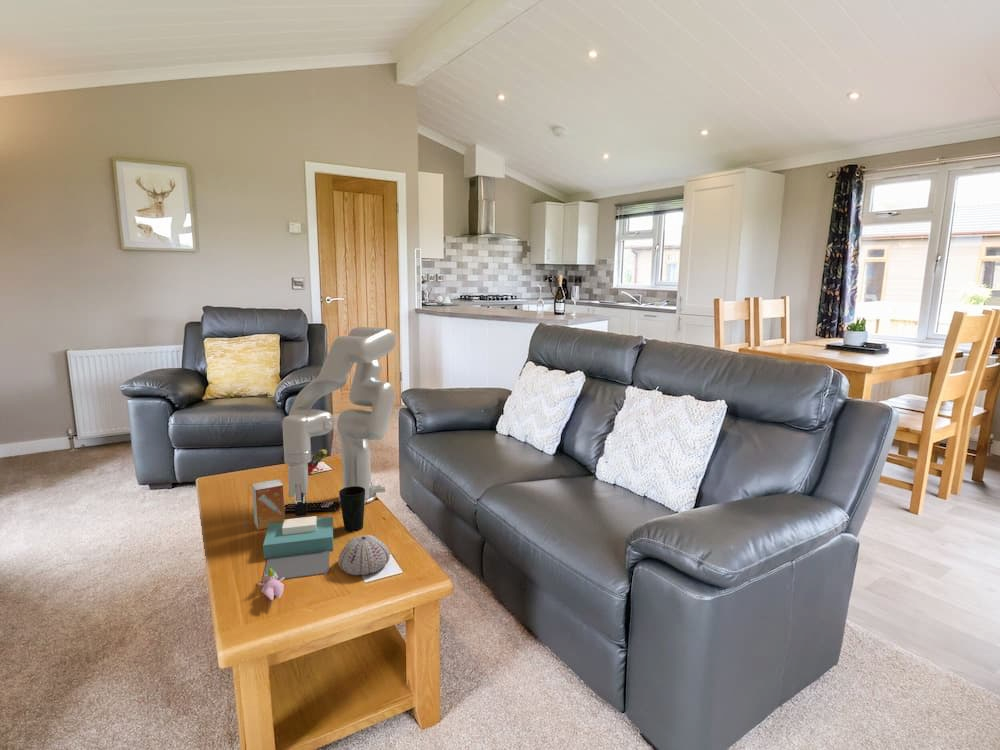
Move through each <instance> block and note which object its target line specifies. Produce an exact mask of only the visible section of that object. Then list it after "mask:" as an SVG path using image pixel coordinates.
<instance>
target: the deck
mask: <svg viewBox="0 0 1000 750" xmlns="http://www.w3.org/2000/svg"><path fill="white" fill-rule="evenodd" d="M282 527H283V522H278V523H269V526H268V528H267V530H266V534H265V537H264V541H263V544H262V548H263V559H264V560H265V558H275V557H282V556H290V555H298V554H306V553H314V552H322V551H329V552H330V551H333V550H334V517H333V516H325V517H317V527H316V531H313V532H305V533H296V534H288V535H283V533H282Z"/></svg>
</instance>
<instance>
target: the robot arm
mask: <svg viewBox="0 0 1000 750" xmlns="http://www.w3.org/2000/svg"><path fill="white" fill-rule="evenodd" d="M396 343H397V338H396V334H395V333H394V331H393V330H391V329H390V328H385V327H373V326H358V327H353V328H352V329H350V331H349V333H348V335H342V336H338V337H336V338H335V339H334V340H333V342H332V343H331V346H330V348H329V351H328V353H327V356H326V358H325V361H324V362H323V365H322V367H321V369H320V372H319V374H318V376H317V377H315V378H314V379H312V380H311V381H310V382H309V383H308V384H307V385H306V386H304V387H303V388H302V389H301V390H300V391H299V393H298V394H297V396H296V397H295V399H294V401H293V403H292V404H291V405H292V406H291V408H290V410H289V413H288V415H287V416H285V417H284V418H283V419H282V422H281V427H282V440H283V442H282V443H283V458H284V459H283V460H284V464H285V465H288V466H287V467H288V469H287V472H288V479H287V480H288V497H289V498H290V499H292V498H294V512H295V517H302V516H303V517H304V516H305V517H306V516H307V515H308V507H307V506H308V505H307V499H306V498H307V497H306V495H307V494H308V485H309V471H308V463H309V462H310V461H311V460H312V459H311V456H312V444H311V438H312V437H318V436H319V437H320V436H323V435H327V434H329V433H330V432H331V431H332V430H333V429H334V427H335V423H336V430H337V432H338V436H339V440H340V441H339V442H340V450H341V453H340V454H341V471H342V489H343V488H346V487H351V486H359V487H363V488H364V489H365V503H364V505H366V503H367V504H369V503H371V502H373V501H375V500H376V498H377V493H385V492H386V487H385V486H382V485H381V484H379V485H374V484H373V481H372V468H371V467H372V464H371V448H370V445H369V441H376V442H377V441H381V440H383V438H384V437H385V436H386V435H387V433H388V429H389V426H390V421H391V418H392V413H393V410H394V405H395V400H396V392H395V391H396V390H395V388H394V386H393V384H392V383H390V382H389V381H387V380H380V378H381V377H380V376H381V371H382V365H381V361H380V359H381V358H382V357H385V356H386V355H389V353H390V354H391V352H392V351H393V350H394V348H395V346H396ZM355 363H356V364H355ZM354 364H355V365H356V366H355V370H354V374H353V378H352V382H351V385H350V389H349V390H350V391H349V394H348V398H349V402H350V403H351V404H352V405H354V406H357V407H362V408H363V407H364V408H371V411H370V410H365V409H364V410H363V409H356V408H349V409H346V410H343V411H342V412H341V413H340V414H339V415H338V417H337V420H336V421H335V417H334V415H333V414H332V413H331V412H328V411H327V410H322V409H315V408H313V406H314V404H315V403H317V401H318V400H320V399H321V398H322V397H324V396H325V395H328V394H330V393H332V392H333V393H334V392H336V391H338V390H340V389H343V388H344V387H345V386H346V384H347V380H348V378H349V376H350V373H351V371H352V369H353V366H354ZM373 494H374V495H375V496H376V497H374V495H373ZM338 501H339V502H340V495H339V496H338Z"/></svg>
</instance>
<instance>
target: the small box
mask: <svg viewBox="0 0 1000 750" xmlns="http://www.w3.org/2000/svg"><path fill="white" fill-rule="evenodd" d="M251 493H252V508H253V509H252V511H253V521H254V524H255V527H256V529H257V530H258V531H260V530H264V529H268V526H269V523H278V522H284V520H285V519H286V517H285V516H286V515H285V511H286V510H285V498H284V497H285V496H284V485H283V482H282V481H281V480H280V479H279V478H278V479H273V480H266V481H262V482H261V481H260V482H256V483H252V484H251Z"/></svg>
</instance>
